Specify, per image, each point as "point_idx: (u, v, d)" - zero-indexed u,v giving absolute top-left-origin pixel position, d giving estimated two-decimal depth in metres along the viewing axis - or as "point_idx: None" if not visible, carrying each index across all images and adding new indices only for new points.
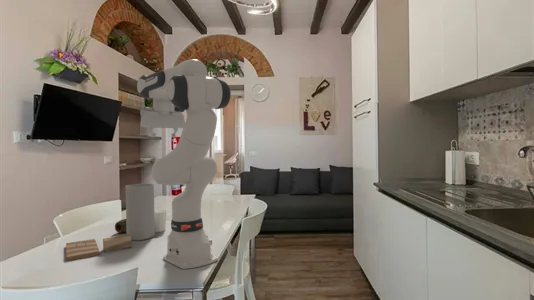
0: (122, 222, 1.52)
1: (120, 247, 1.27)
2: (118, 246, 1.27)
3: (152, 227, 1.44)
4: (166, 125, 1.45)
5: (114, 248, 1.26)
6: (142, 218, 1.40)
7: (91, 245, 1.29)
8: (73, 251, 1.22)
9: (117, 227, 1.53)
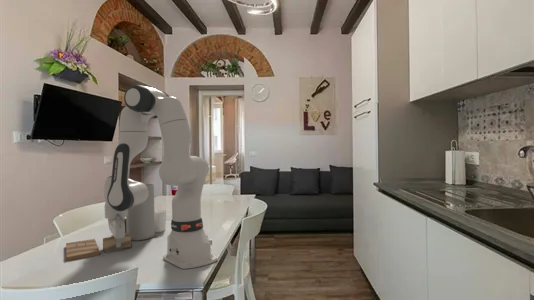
0: None
1: (120, 247, 1.27)
2: None
3: (152, 227, 1.44)
4: None
5: (114, 248, 1.26)
6: (142, 218, 1.40)
7: (91, 245, 1.29)
8: (73, 251, 1.22)
9: None
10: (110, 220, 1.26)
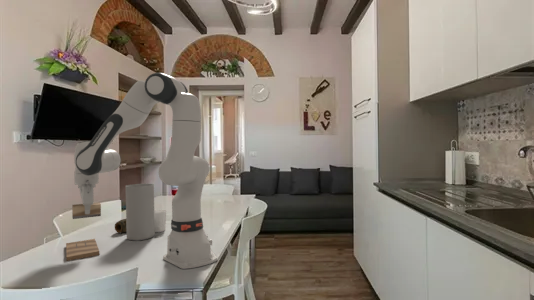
0: (122, 222, 1.52)
1: (89, 214, 1.25)
2: None
3: (152, 227, 1.44)
4: None
5: (83, 214, 1.24)
6: (142, 218, 1.40)
7: (91, 245, 1.29)
8: (73, 251, 1.22)
9: (117, 227, 1.53)
10: (79, 186, 1.24)
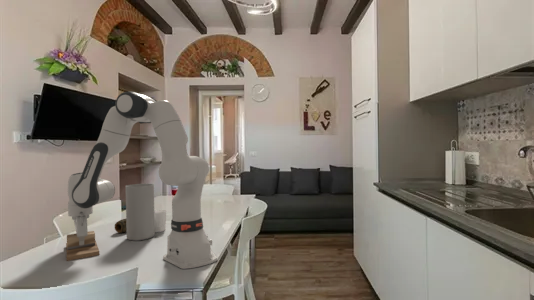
0: (122, 222, 1.53)
1: (84, 244, 1.27)
2: None
3: (152, 227, 1.44)
4: None
5: (77, 245, 1.26)
6: (142, 218, 1.40)
7: None
8: (73, 251, 1.22)
9: (117, 227, 1.53)
10: (73, 218, 1.26)
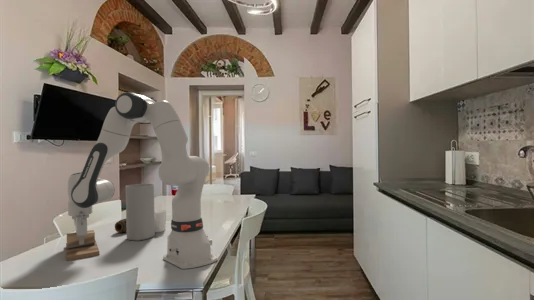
0: (122, 222, 1.53)
1: None
2: None
3: (152, 227, 1.44)
4: None
5: (77, 243, 1.27)
6: (142, 218, 1.40)
7: (91, 245, 1.29)
8: (73, 251, 1.22)
9: (117, 227, 1.53)
10: (73, 217, 1.26)
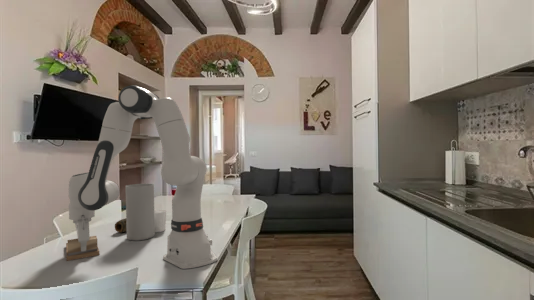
0: (122, 222, 1.53)
1: None
2: None
3: (152, 227, 1.44)
4: None
5: (79, 250, 1.19)
6: (142, 218, 1.40)
7: None
8: None
9: (117, 227, 1.53)
10: (75, 221, 1.19)
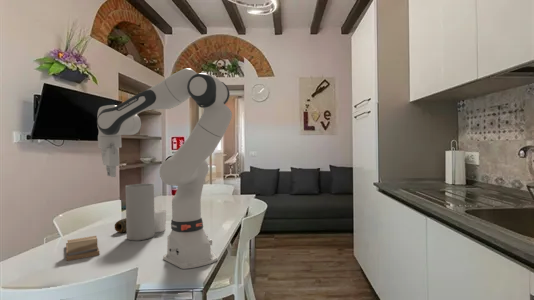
0: (122, 222, 1.53)
1: (85, 249, 1.20)
2: (83, 248, 1.20)
3: (152, 227, 1.44)
4: None
5: (79, 250, 1.19)
6: (142, 218, 1.40)
7: None
8: None
9: (117, 227, 1.54)
10: (104, 150, 1.25)
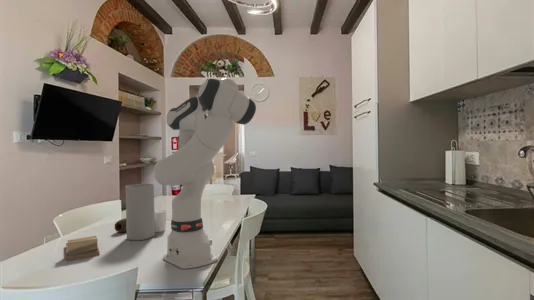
0: (122, 222, 1.53)
1: (85, 249, 1.20)
2: (83, 248, 1.20)
3: (152, 227, 1.44)
4: None
5: (79, 250, 1.19)
6: (142, 218, 1.40)
7: None
8: None
9: (117, 227, 1.54)
10: (184, 142, 1.49)
